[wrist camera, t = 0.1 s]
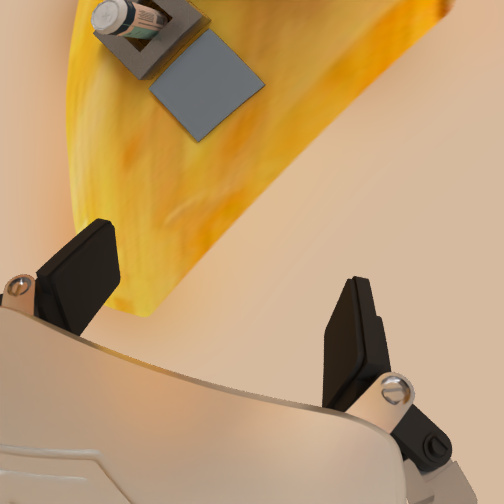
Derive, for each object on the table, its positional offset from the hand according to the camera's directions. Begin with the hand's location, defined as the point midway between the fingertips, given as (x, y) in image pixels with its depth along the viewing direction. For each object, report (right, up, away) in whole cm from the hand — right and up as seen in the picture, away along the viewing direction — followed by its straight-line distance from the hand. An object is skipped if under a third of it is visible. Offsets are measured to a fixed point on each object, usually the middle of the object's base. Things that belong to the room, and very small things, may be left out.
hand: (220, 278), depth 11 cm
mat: (-5, +23, +24) cm, 34 cm away
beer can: (-12, +33, +20) cm, 40 cm away
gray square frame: (-12, +33, +20) cm, 40 cm away
